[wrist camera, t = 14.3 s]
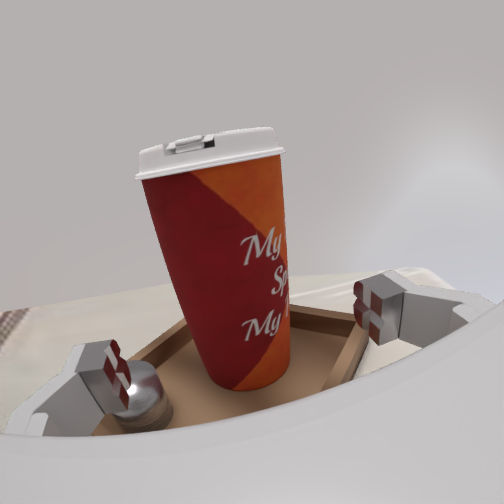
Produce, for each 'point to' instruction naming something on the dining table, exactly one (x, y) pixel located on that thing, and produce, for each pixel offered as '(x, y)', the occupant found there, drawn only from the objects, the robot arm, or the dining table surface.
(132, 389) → the part
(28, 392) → the dining table surface
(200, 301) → the paper cup
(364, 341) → the tray
